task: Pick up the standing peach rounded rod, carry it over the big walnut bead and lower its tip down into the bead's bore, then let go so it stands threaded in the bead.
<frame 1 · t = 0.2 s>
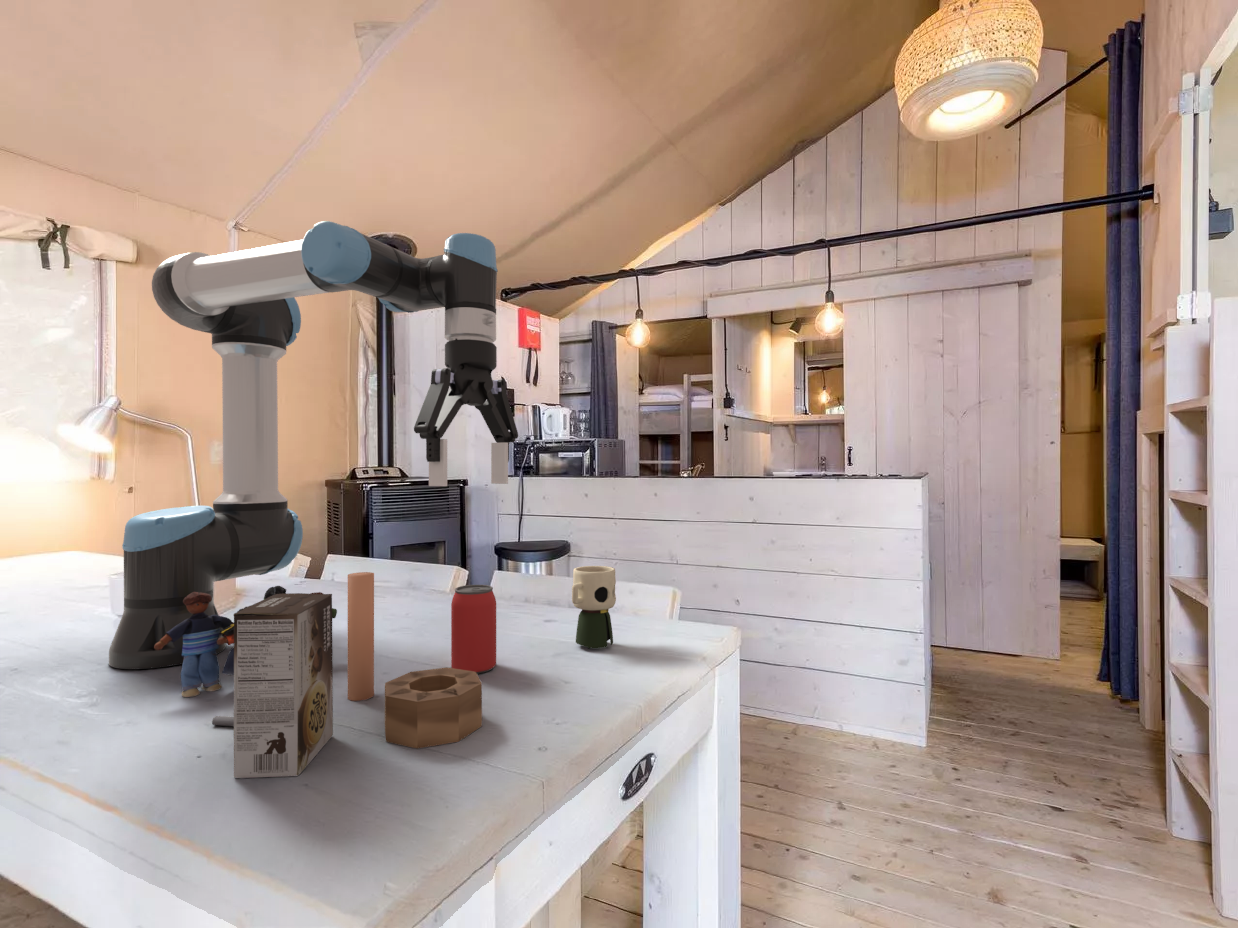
hand: (470, 485, 92), 27 cm above the table, tool pointing down, fingers open, 13 cm apart
bead: (433, 726, 71), on the table
doll family: (254, 678, 88), on the table
beer can: (473, 669, 92), on the table
peach rounded rod: (360, 696, 81), on the table
grey thin rod: (254, 726, 71), on the table
coffee box: (286, 758, 64), on the table
character mug: (594, 647, 103), on the table
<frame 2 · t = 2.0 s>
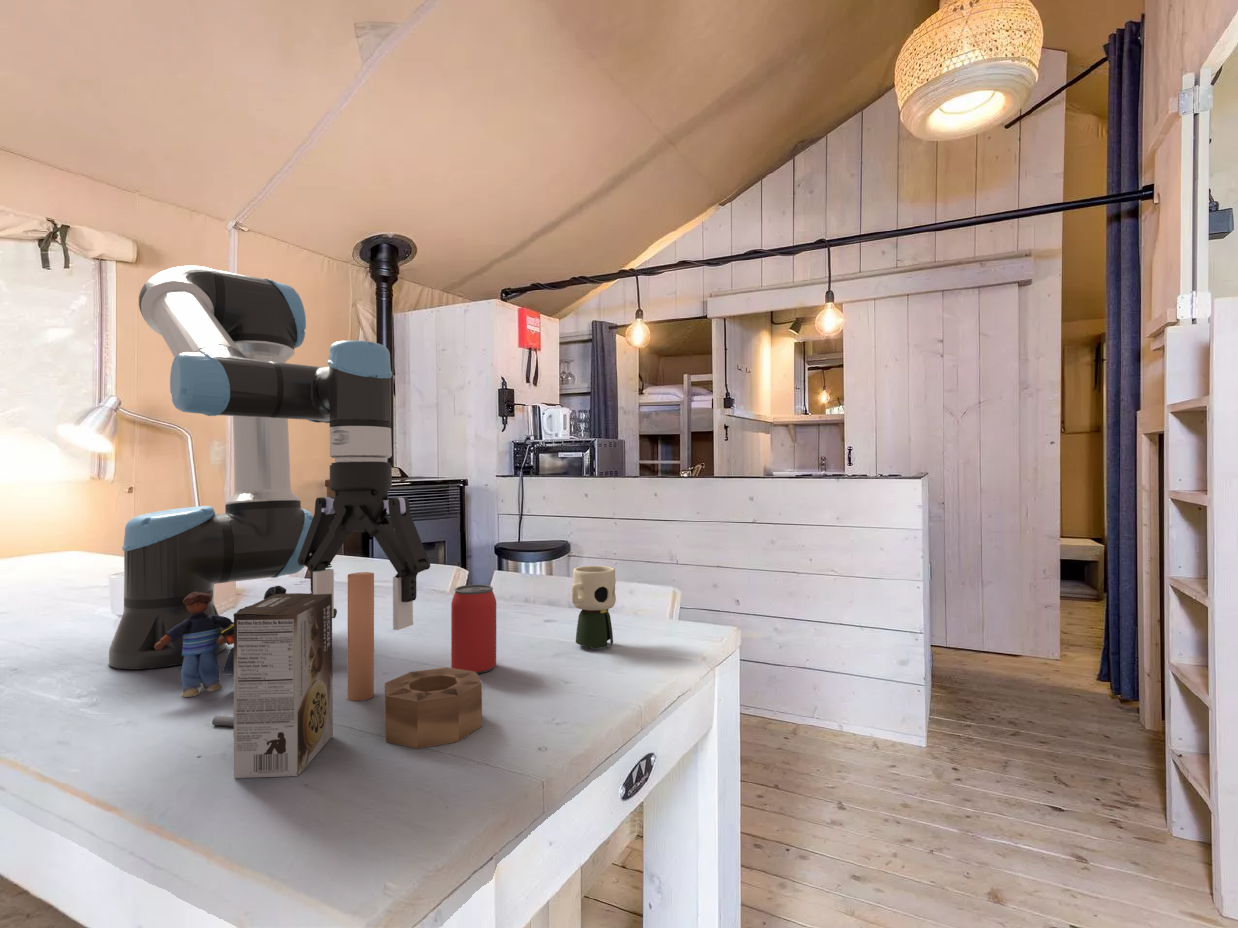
hand: (362, 623, 81), 10 cm above the table, tool pointing down, fingers open, 13 cm apart
nothing on the table moved.
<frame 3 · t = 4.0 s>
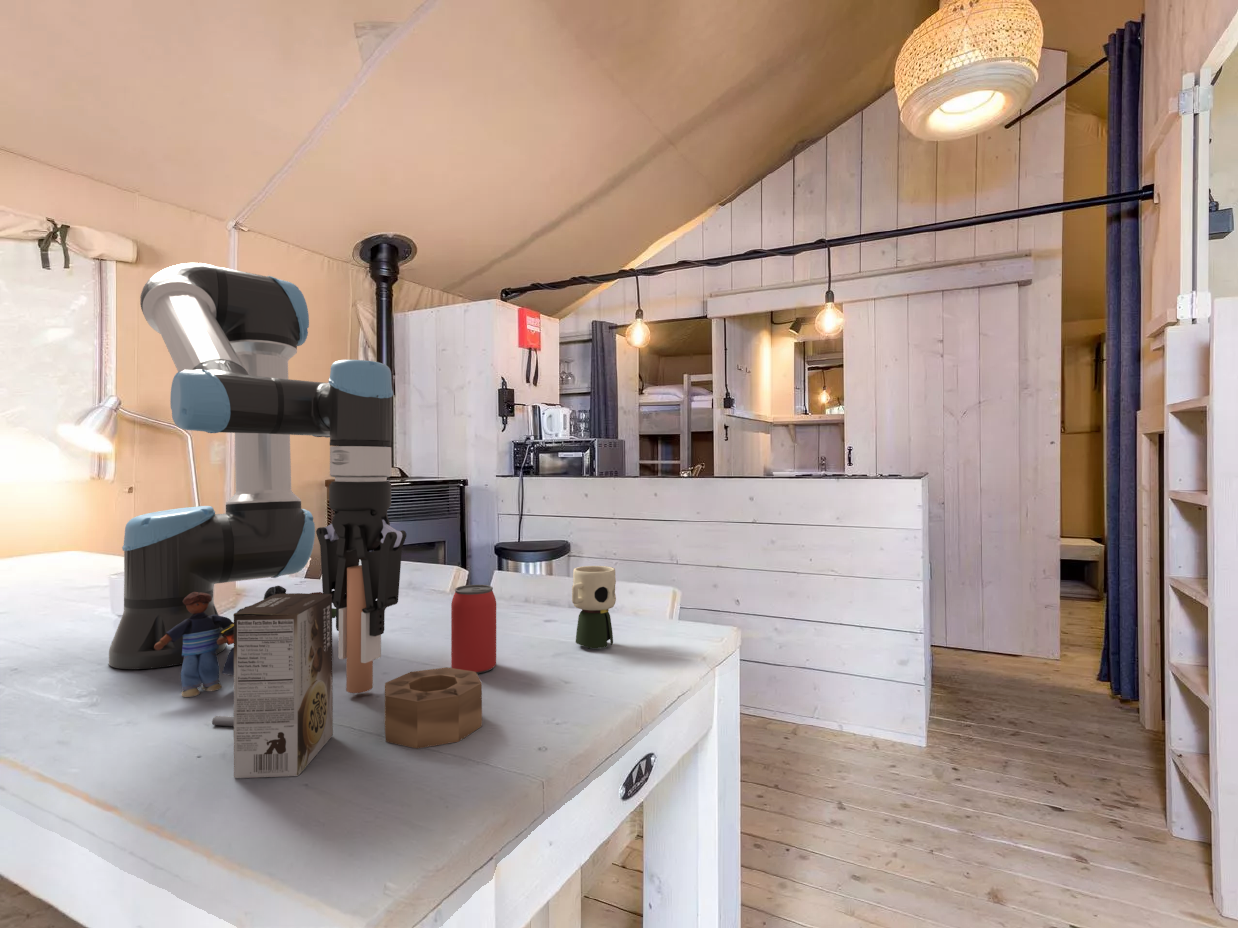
hand: (359, 657, 81), 5 cm above the table, tool pointing down, fingers closed on peach rounded rod, 3 cm apart
peach rounded rod: (359, 688, 81), point 1 cm above the table, touching gripper
everything else where it was.
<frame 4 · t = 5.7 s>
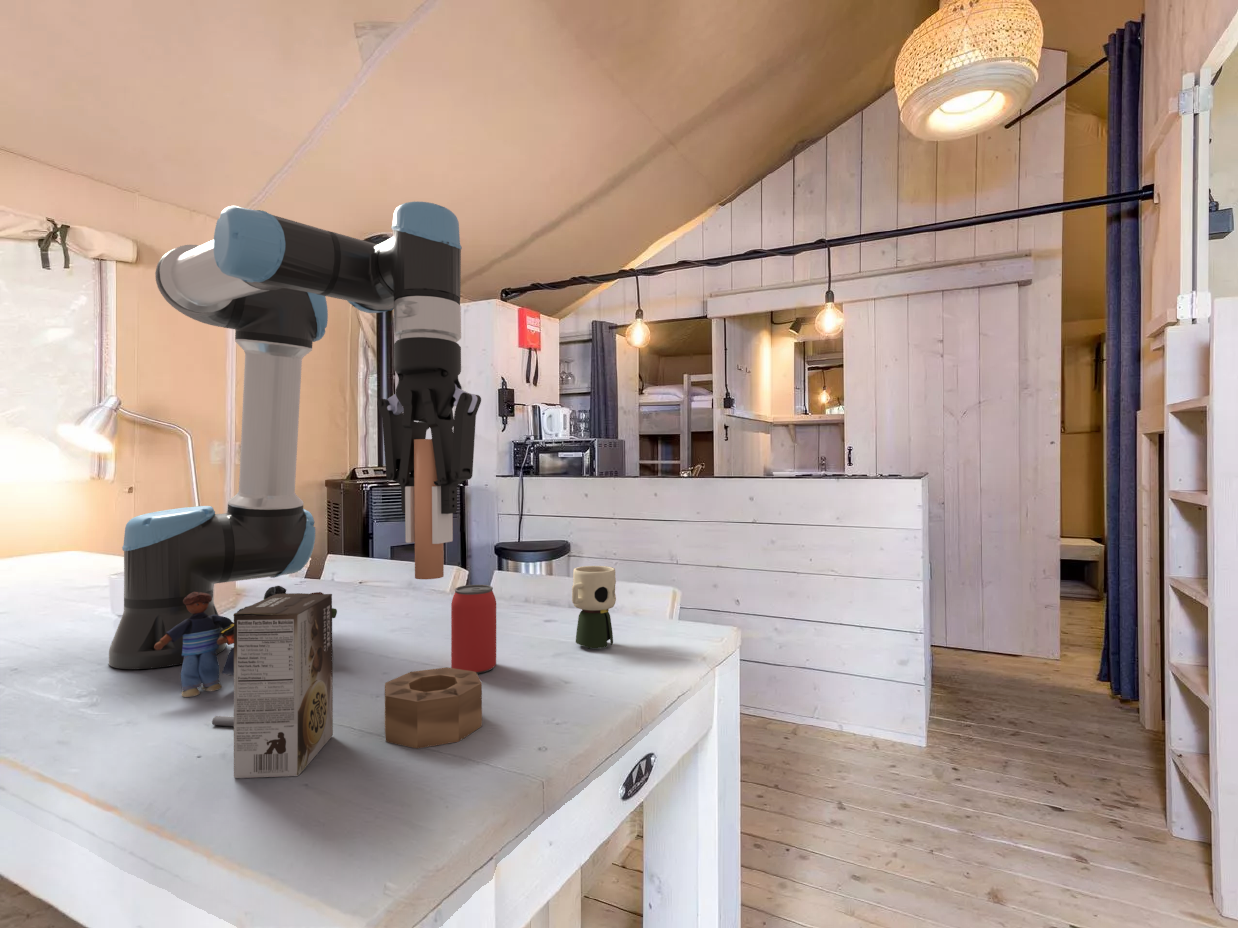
hand: (429, 541, 72), 21 cm above the table, tool pointing down, fingers closed on peach rounded rod, 3 cm apart
peach rounded rod: (429, 576, 72), point 17 cm above the table, touching gripper
everything else where it was.
when the fingers open (7 cm above the table, at t = 8.1 s): peach rounded rod drops 2 cm, resting in bead.
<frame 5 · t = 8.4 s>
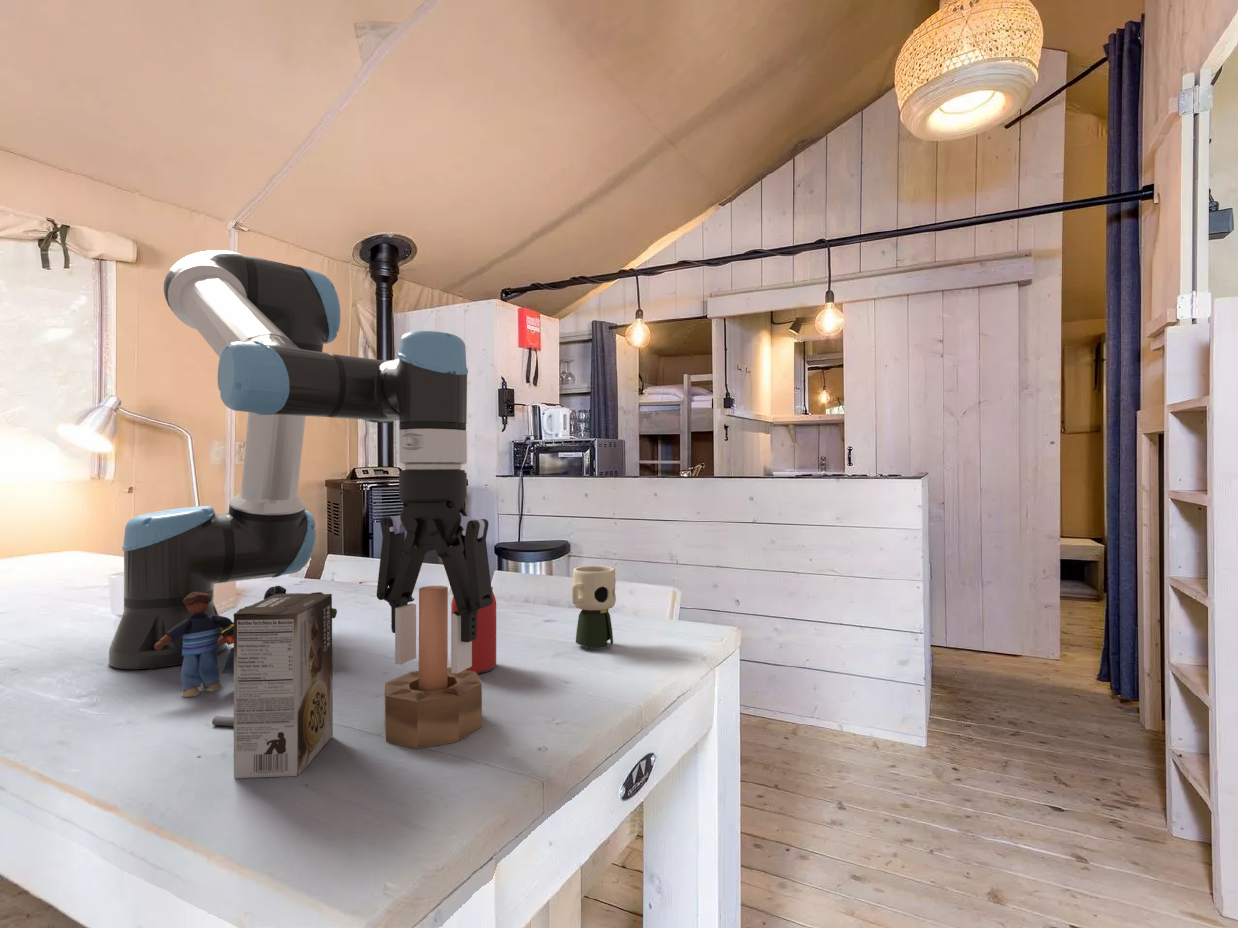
hand: (433, 664, 71), 7 cm above the table, tool pointing down, fingers open, 7 cm apart
peach rounded rod: (432, 726, 71), resting in bead
everything else where it was.
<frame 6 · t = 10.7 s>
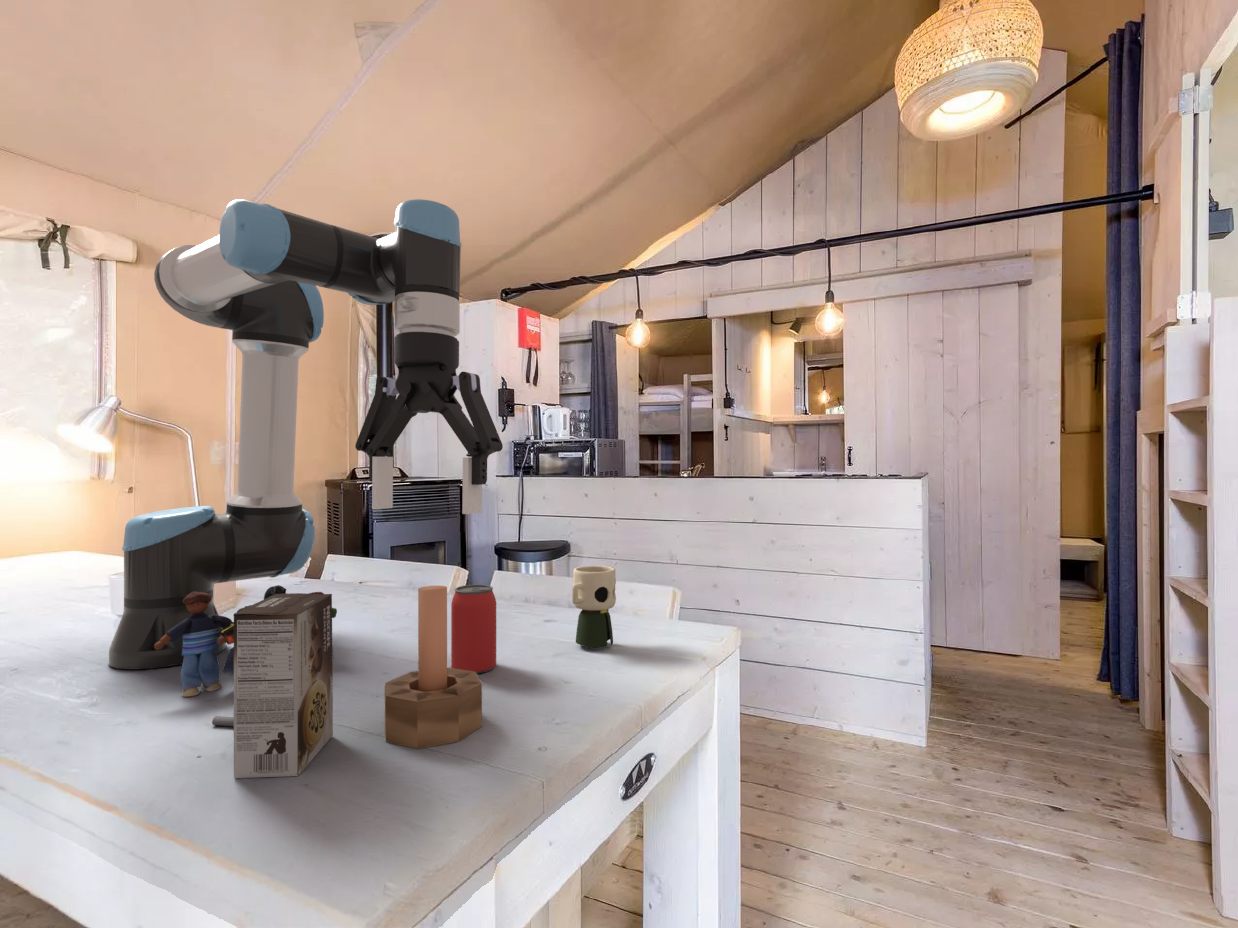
hand: (425, 511, 75), 25 cm above the table, tool pointing down, fingers open, 13 cm apart
nothing on the table moved.
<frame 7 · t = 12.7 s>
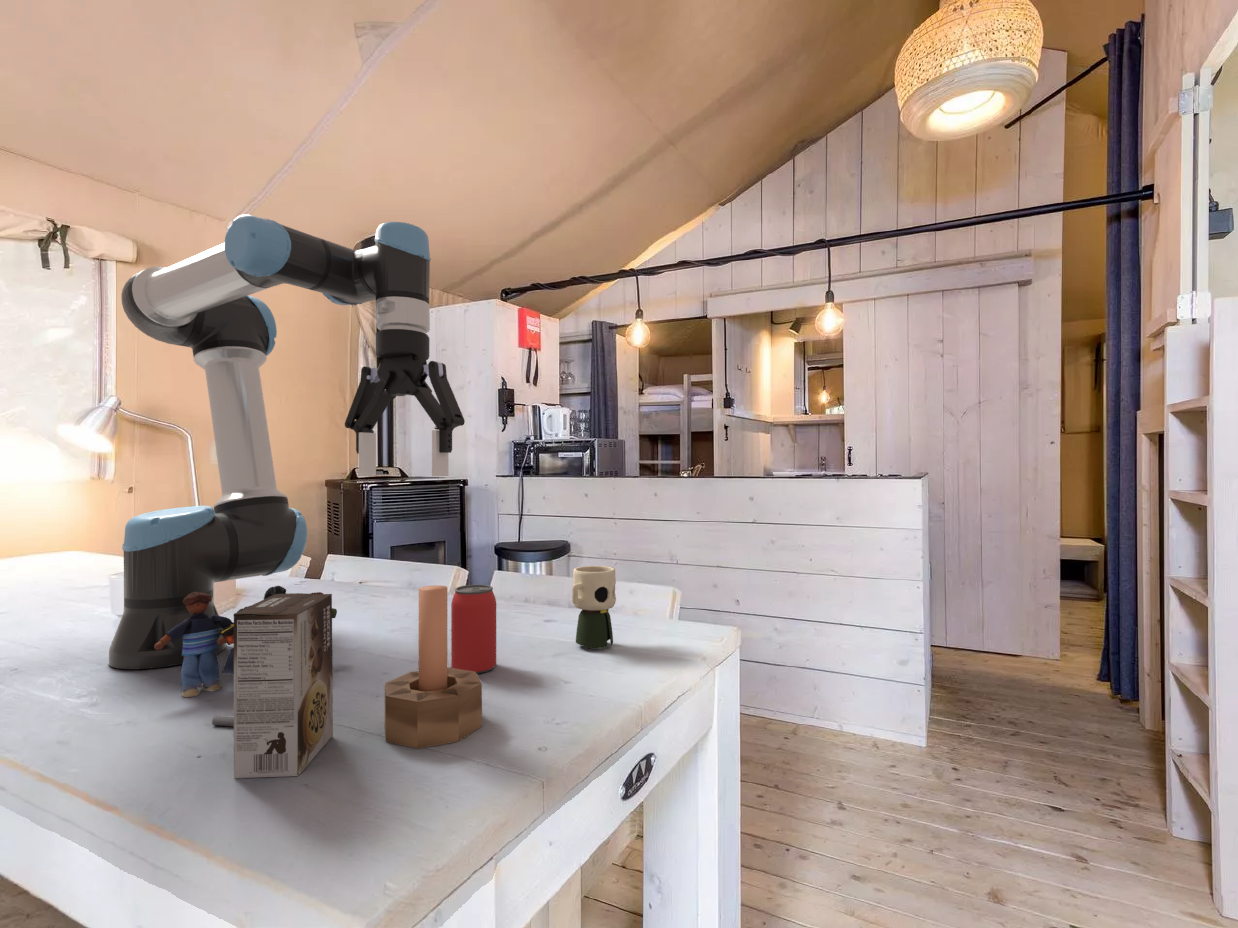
hand: (402, 476, 91), 29 cm above the table, tool pointing down, fingers open, 13 cm apart
nothing on the table moved.
at the end: peach rounded rod 0.0 cm from the bead (horizontally); peach rounded rod resting in bead; peach rounded rod tilted 0° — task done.
